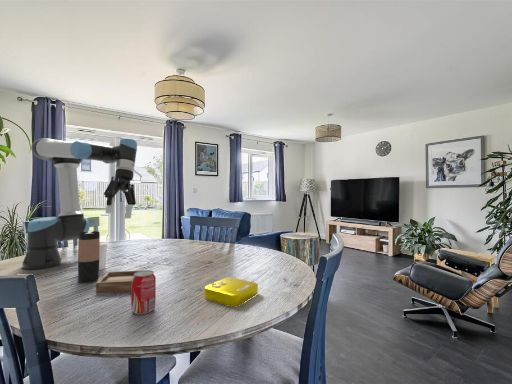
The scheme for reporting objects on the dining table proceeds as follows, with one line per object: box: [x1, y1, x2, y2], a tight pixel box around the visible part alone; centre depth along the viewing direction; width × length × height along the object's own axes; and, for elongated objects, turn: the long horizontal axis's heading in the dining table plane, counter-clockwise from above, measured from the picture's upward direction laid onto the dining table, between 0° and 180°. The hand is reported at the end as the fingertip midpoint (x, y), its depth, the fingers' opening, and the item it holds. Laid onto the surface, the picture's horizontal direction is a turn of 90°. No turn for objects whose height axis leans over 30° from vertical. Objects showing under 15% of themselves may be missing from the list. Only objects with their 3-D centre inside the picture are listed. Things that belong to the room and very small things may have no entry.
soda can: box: [130, 269, 157, 315], centre depth 85 cm, size 7×7×12 cm
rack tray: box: [95, 269, 144, 295], centre depth 106 cm, size 14×14×4 cm
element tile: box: [204, 276, 259, 308], centre depth 98 cm, size 15×15×5 cm
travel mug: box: [77, 230, 101, 284], centre depth 113 cm, size 8×8×20 cm
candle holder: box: [99, 241, 109, 271], centre depth 129 cm, size 10×10×12 cm
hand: (118, 216), depth 120 cm, fingers open, 13 cm apart
